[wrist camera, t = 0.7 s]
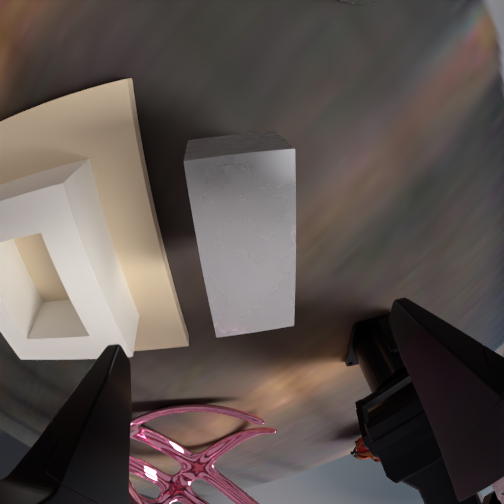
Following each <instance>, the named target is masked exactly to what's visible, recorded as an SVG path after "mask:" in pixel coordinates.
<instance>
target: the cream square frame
mask: <svg viewBox="0 0 504 504" xmlns="http://www.w3.org/2000/svg"><path fill="white" fill-rule="evenodd" d="M0 332H1V333H2V335H3V336H4V337H5V339H6V340H7V342H8V343H9V345H10V346H11V347H12V349H13V350H14V351H15V353H16V354H17V355H18V357H19V358H20V359H21V360H74V359H97V358H98V357H99V356H100V355H101V353H102V352H103V351H104V349H105V348H106V347H107V346H108V345H113V344H119V345H121V346H122V348H123V350H124V352H125V354H126V355H127V357H133V352H134V351H142V350H154V349H165V348H175V347H184V346H189V335H188V331H187V328H186V325H185V322H184V318H183V315H182V311H181V308H180V304H179V301H178V297H177V294H176V290H175V287H174V283H173V279H172V276H171V272H170V268H169V264H168V260H167V256H166V253H165V249H164V245H163V240H162V236H161V232H160V228H159V224H158V219H157V215H156V210H155V206H154V201H153V197H152V192H151V187H150V182H149V178H148V173H147V167H146V162H145V157H144V152H143V146H142V140H141V135H140V129H139V123H138V116H137V110H136V103H135V96H134V89H133V82H132V78H128V79H123V80H119V81H115V82H111V83H107V84H104V85H100V86H96V87H93V88H89V89H86V90H83V91H79V92H76V93H73V94H70V95H67V96H64V97H61V98H58V99H55V100H52V101H49V102H47V103H44V104H41V105H39V106H36V107H33V108H31V109H28V110H26V111H23V112H21V113H19V114H16V115H14V116H12V117H9V118H7V119H5V120H3V121H0Z"/></svg>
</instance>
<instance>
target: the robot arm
mask: <svg viewBox="0 0 504 504" xmlns="http://www.w3.org/2000/svg"><path fill="white" fill-rule="evenodd" d="M345 363H346V366H353V365H356V364H359V365H360V367H361V369H362V371H363V374H364V376H365V378H366V380H367V383H368V385H369V387H370V389H371V391H372V394H370V395H368V396H367V397H365V398H363V399H362V400H361V399H360V400H358V401H357V402H355V404H356V408H357V410H356V412H357V416H358V421H359V425H360V430H361V434H362V439H363V446H364V447H365V448H366V449H369V451H370V452H371V453H372V455H373V456H374V457H376V458H378V459H380V461H381V463H382V465H383V468H384V471H385V473H386V476H387V477H388V478H389V479H391V480H392V481H393V482H395V483H398V482H400V481H402V482H404V483H406V484H408V485H409V486H412V487H413V488H415V489H417V490H418V491H419V492H420V494H421V497H422V498H423V501H424V503H425V504H504V357H502V356H501V355H499V354H497V353H496V352H494V351H492V350H491V349H489V348H488V347H486V346H483V344H481V343H480V342H478V341H476V340H475V339H473V338H471V337H470V336H468V335H467V334H465V333H463V332H462V331H460V330H459V329H457V328H455V327H454V326H452V325H450V324H449V323H447V322H445V321H444V320H442V319H440V318H439V317H437V316H435V315H434V314H432V313H430V312H429V311H427V310H425V309H424V308H422V307H420V306H419V305H417V304H415V303H414V302H412V301H410V300H409V299H407V298H400V299H396V300H395V301H394V302H393V305H392V308H391V312H390V315H387V316H383V317H378V318H374V319H370V320H366V321H361V322H358V323H356V324H355V325H354V326H353V330H352V335H351V339H350V343H349V348H348V352H347V356H346V360H345ZM131 409H132V403H131V371H130V361H129V359H128V357H127V355H126V354H125V352H124V350H123V348H122V346H121V345H119V344H113V345H108V346H107V347H106V348H105V349H104V351H103V352H102V353H101V355H100V356H99V357H98V358H97V360H96V361H95V362H94V364H93V365H92V366H91V368H90V369H89V370H88V372H87V373H86V374H85V376H84V377H83V378H82V380H81V381H80V382H79V384H78V385H77V386H76V388H75V389H74V390H73V392H72V393H71V394H70V396H69V397H68V398H67V400H66V401H65V403H64V404H63V405H62V407H61V408H60V410H59V411H58V412H57V414H56V415H55V417H54V418H53V419H52V422H50V423H49V425H48V426H47V428H46V429H45V431H44V432H43V433H42V435H41V436H40V437H39V439H38V440H37V441H36V443H35V444H34V445H33V446H32V447H31V449H30V450H29V451H28V452H27V454H26V455H25V456H24V457H23V458H22V460H21V461H20V462H19V463H18V464H17V465H16V467H15V468H14V469H13V470H12V471H11V472H10V473H9V474H8V475H7V476H6V477H5V478H3V479H1V480H0V504H129V451H130V427H131ZM491 484H492V486H493V488H494V490H493V491H492V492H491V493H489V494H488V495H486V496H485V497H484V499H483V498H482V496H481V493H480V491H481V490H483V489H485V488H486V487H488V486H490V485H491Z"/></svg>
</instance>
